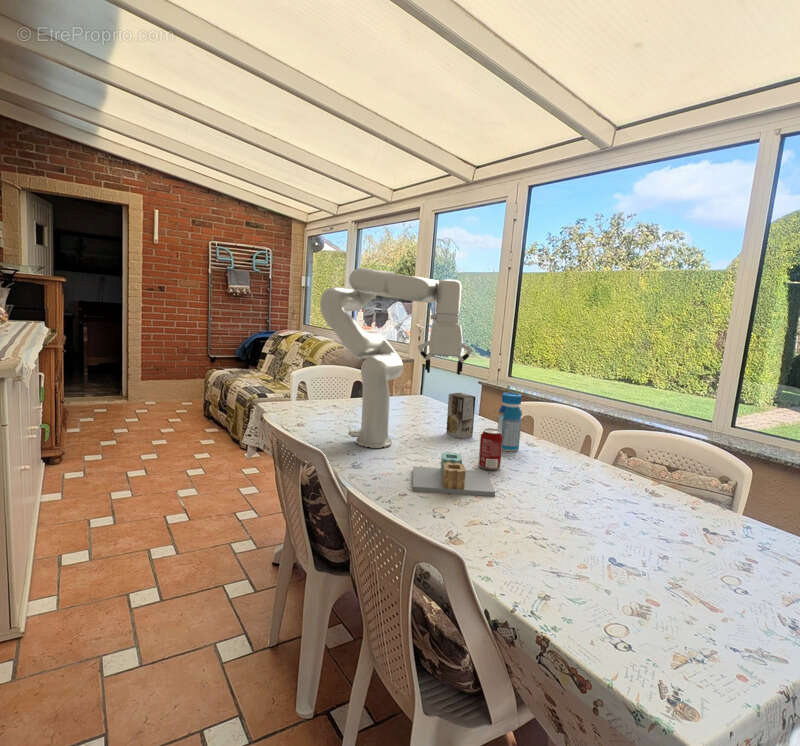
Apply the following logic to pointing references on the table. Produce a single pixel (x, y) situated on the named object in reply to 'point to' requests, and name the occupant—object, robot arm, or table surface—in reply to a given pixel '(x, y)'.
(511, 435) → the beverage bottle
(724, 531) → the table surface
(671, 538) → the table surface
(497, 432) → the soda can
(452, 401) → the coffee box
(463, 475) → the oak gear
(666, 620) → the table surface
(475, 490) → the board
